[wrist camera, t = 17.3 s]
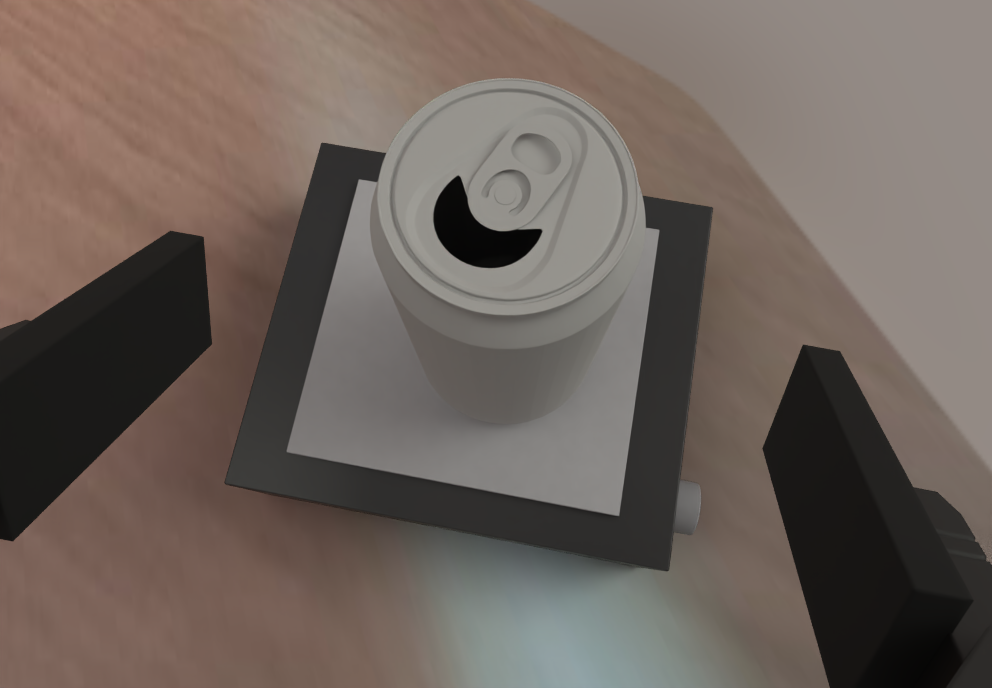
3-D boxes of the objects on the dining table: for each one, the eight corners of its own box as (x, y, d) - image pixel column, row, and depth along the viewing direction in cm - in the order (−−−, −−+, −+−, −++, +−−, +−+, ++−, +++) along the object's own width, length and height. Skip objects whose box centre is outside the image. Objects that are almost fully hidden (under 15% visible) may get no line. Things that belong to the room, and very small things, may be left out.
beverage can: (385, 361, 27) (295, 221, 15) (487, 231, 28) (475, 12, 17) (526, 463, 26) (544, 394, 14) (625, 323, 27) (715, 156, 16)
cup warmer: (709, 260, 34) (746, 208, 28) (671, 573, 30) (706, 578, 25) (346, 198, 35) (319, 137, 30) (267, 493, 31) (220, 483, 26)
